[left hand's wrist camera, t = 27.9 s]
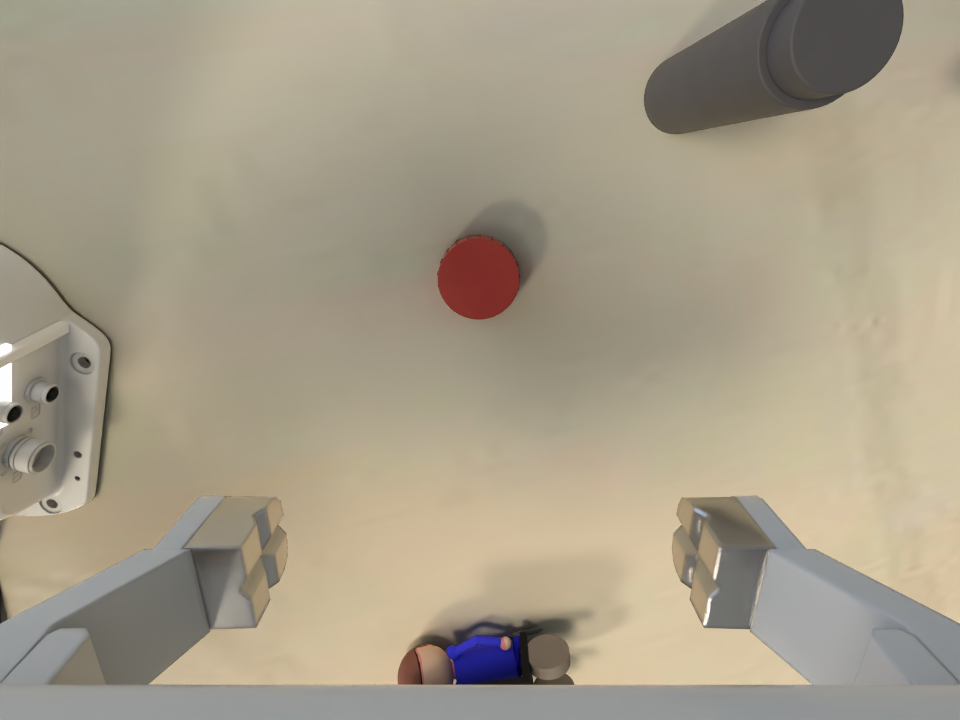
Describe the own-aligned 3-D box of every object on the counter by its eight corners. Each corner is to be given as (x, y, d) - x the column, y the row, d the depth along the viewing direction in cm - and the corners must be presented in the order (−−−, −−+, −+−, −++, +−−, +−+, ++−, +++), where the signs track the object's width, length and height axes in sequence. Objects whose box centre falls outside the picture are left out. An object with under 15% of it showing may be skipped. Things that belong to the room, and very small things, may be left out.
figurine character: (553, 595, 47) (391, 630, 46) (578, 669, 40) (386, 712, 39) (561, 649, 49) (406, 683, 48) (585, 728, 42) (404, 770, 41)
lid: (428, 246, 35) (426, 250, 33) (507, 224, 34) (509, 227, 33) (451, 321, 37) (449, 329, 35) (526, 302, 36) (528, 308, 34)
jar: (729, 95, 32) (938, 32, 17) (672, 149, 33) (825, 132, 18) (686, 37, 31) (871, -82, 16) (629, 95, 32) (755, 31, 17)
